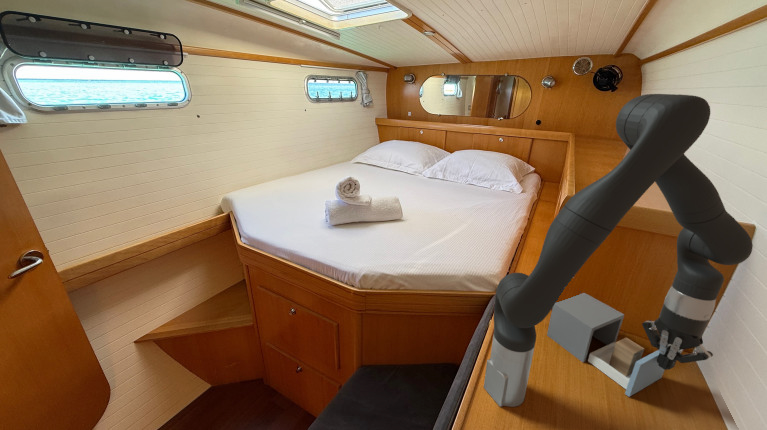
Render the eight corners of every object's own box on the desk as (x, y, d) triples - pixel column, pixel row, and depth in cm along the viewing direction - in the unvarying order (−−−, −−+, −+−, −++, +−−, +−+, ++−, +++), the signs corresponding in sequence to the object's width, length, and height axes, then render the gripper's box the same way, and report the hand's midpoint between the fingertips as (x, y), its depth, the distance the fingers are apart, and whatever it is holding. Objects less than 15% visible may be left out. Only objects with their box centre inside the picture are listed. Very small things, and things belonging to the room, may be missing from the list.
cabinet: (582, 362, 86) (592, 328, 81) (546, 335, 96) (553, 303, 92) (614, 347, 91) (624, 314, 86) (576, 323, 101) (584, 292, 97)
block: (626, 377, 80) (633, 353, 77) (608, 364, 84) (615, 342, 81) (636, 371, 81) (644, 348, 78) (619, 359, 85) (626, 337, 82)
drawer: (629, 396, 75) (640, 364, 72) (583, 362, 85) (592, 333, 82) (661, 377, 80) (673, 346, 77) (615, 347, 90) (624, 319, 87)
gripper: (736, 321, 63) (707, 383, 69) (661, 289, 74) (642, 343, 80) (717, 331, 60) (689, 394, 66) (643, 296, 72) (624, 352, 78)
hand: (663, 366), depth 73 cm, fingers closed
